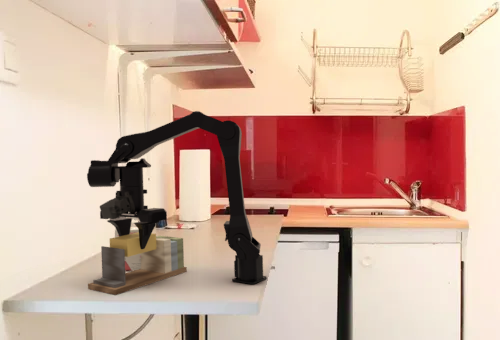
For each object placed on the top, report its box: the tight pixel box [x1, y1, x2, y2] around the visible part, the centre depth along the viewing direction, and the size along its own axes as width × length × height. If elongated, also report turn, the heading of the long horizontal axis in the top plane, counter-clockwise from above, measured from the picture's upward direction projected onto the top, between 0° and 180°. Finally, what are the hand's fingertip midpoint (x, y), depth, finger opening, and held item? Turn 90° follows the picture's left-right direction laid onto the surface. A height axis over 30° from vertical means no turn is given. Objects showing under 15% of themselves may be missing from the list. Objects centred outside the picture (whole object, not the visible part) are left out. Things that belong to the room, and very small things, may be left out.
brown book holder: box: [87, 235, 188, 296], centre depth 113 cm, size 10×24×10 cm, turn 146°
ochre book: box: [109, 232, 157, 257], centre depth 111 cm, size 6×10×4 cm, turn 150°
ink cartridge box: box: [114, 217, 141, 272], centre depth 125 cm, size 9×5×15 cm, turn 92°
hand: (133, 247), depth 111 cm, fingers closed on ochre book, 6 cm apart
